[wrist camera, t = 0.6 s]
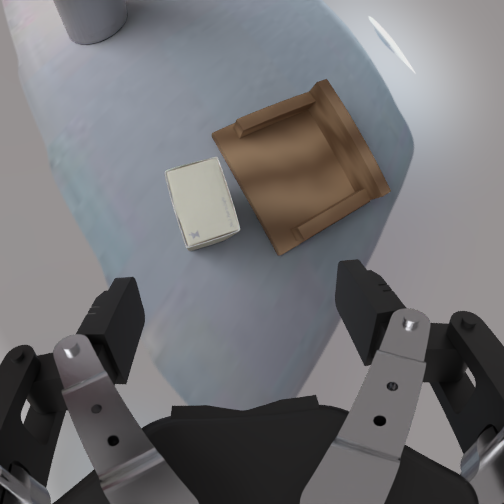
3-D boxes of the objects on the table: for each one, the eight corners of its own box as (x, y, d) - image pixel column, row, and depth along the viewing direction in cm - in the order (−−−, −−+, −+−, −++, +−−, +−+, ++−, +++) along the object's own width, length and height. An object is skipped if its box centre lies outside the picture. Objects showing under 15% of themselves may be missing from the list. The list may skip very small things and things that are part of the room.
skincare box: (225, 240, 35) (244, 233, 23) (187, 252, 34) (186, 252, 22) (209, 187, 35) (220, 154, 23) (171, 198, 34) (163, 170, 22)
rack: (211, 136, 35) (216, 115, 29) (306, 97, 37) (324, 75, 31) (277, 255, 36) (295, 255, 30) (366, 202, 39) (392, 195, 33)
